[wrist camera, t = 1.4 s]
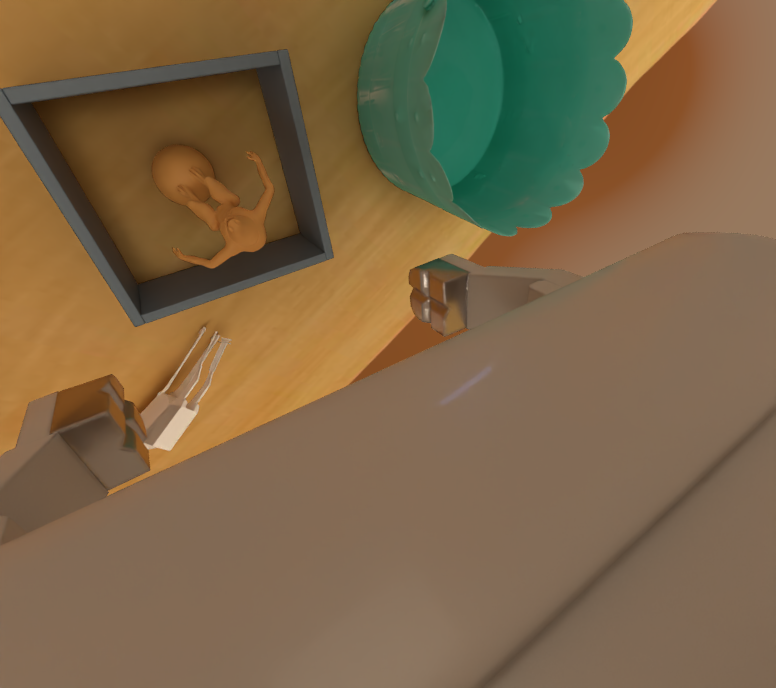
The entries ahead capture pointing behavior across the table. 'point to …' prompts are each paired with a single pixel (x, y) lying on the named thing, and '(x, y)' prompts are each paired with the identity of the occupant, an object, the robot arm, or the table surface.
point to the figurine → (197, 183)
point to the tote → (198, 281)
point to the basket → (492, 102)
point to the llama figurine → (178, 401)
